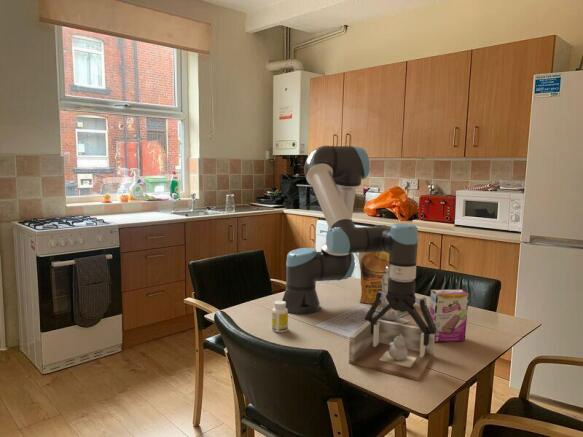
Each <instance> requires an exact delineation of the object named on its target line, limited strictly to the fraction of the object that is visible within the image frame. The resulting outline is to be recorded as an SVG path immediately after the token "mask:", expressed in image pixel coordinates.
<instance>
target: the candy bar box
mask: <svg viewBox="0 0 583 437" xmlns="http://www.w3.org/2000/svg"><path fill="white" fill-rule="evenodd" d="M429 297H430V298H429V308H428V310H429V312H430V315H431V317H432V319H433V322H434V324H435V326H436V329H437V331H436V332H435V338H434V343H449V342H452V343H453V342H465V341H466V333H467V332H466V331H467V317H468V307H469V297H470V294H469V293H468V292H466V291H465V290H464V289H431V290H430V296H429Z"/></svg>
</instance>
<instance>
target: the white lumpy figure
mask: <svg viewBox="0 0 583 437" xmlns="http://www.w3.org/2000/svg"><path fill="white" fill-rule="evenodd" d="M407 354H408V351H407V348H406V347H405V340H404V339H403V336H402V335H401V334H400V335H399V337H398V336H397V337H396V338H395V339H394V342H391V343H390V349H389V355H390V356H391V357H392V358H394V359H395V360H399V361H400V360H404V359H406V358H407Z"/></svg>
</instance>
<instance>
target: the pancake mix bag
mask: <svg viewBox="0 0 583 437" xmlns="http://www.w3.org/2000/svg"><path fill="white" fill-rule="evenodd" d="M358 261H359V264H358V265H359V270H360V286H361V287H360V288H361V292H360V293H361V296H360V300H359V303H363V304H373V303H374V302H375V300H376V294H377V293H378V292H379V291H382V283H381V280H382V277H383V276H384V274H385V273H386V271H385V270H386V266H389V253H386V252H359V253H358ZM380 304H382V300H381V302H380Z"/></svg>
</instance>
